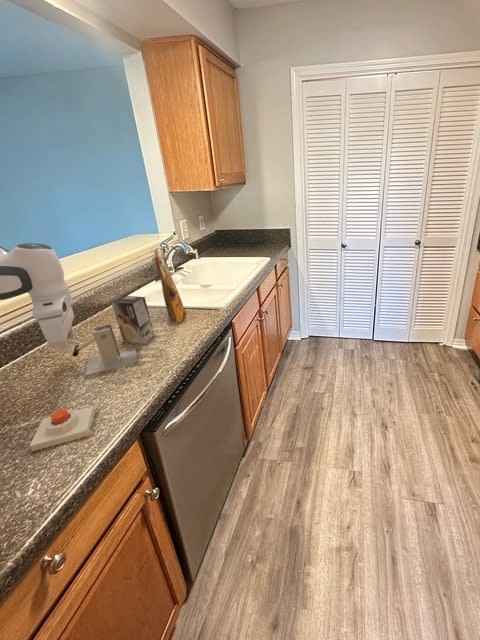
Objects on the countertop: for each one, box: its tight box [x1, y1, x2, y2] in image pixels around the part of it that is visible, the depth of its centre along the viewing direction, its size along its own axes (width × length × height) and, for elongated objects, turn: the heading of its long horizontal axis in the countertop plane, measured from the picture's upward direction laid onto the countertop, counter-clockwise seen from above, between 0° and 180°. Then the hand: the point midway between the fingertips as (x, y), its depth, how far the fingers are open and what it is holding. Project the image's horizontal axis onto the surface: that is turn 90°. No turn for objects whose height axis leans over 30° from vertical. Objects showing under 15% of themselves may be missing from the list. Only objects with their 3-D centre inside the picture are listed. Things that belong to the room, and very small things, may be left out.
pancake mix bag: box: [154, 248, 185, 324], centre depth 129 cm, size 7×19×28 cm, turn 16°
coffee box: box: [111, 295, 155, 344], centre depth 114 cm, size 9×6×16 cm
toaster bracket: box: [85, 322, 138, 377], centre depth 101 cm, size 14×11×13 cm
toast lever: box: [72, 327, 107, 358], centre depth 98 cm, size 11×5×2 cm, turn 117°
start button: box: [50, 409, 69, 425], centre depth 76 cm, size 3×3×2 cm
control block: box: [29, 406, 96, 452], centre depth 77 cm, size 11×9×4 cm
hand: (68, 343), depth 96 cm, fingers open, 8 cm apart
